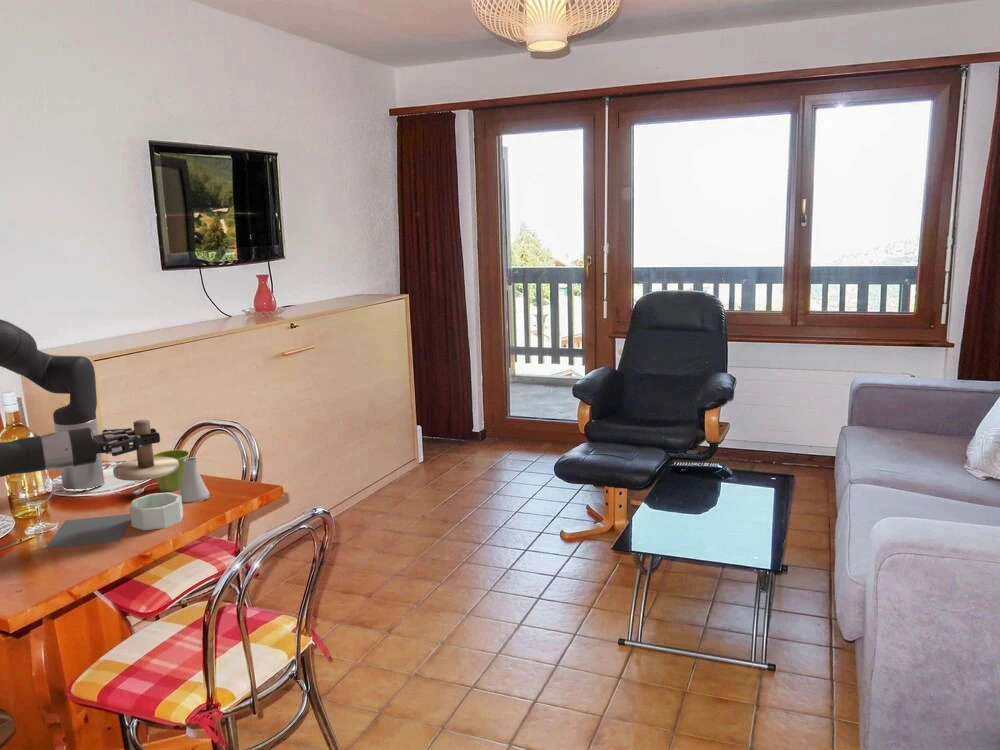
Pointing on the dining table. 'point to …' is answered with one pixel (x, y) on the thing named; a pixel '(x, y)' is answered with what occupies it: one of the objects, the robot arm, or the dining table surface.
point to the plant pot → (175, 478)
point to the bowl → (156, 511)
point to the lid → (145, 460)
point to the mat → (90, 531)
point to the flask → (193, 483)
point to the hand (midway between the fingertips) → (157, 435)
